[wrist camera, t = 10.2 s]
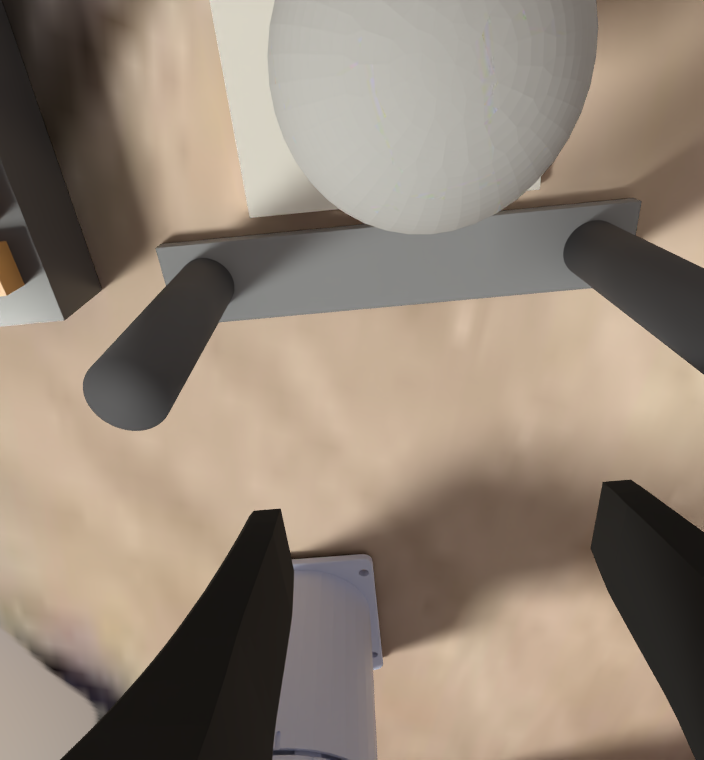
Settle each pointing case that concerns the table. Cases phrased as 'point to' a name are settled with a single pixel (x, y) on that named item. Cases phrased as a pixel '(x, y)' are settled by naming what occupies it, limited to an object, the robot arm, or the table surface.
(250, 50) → the mat
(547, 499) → the table surface
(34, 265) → the terminal block
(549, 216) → the cable posts
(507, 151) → the light bulb
